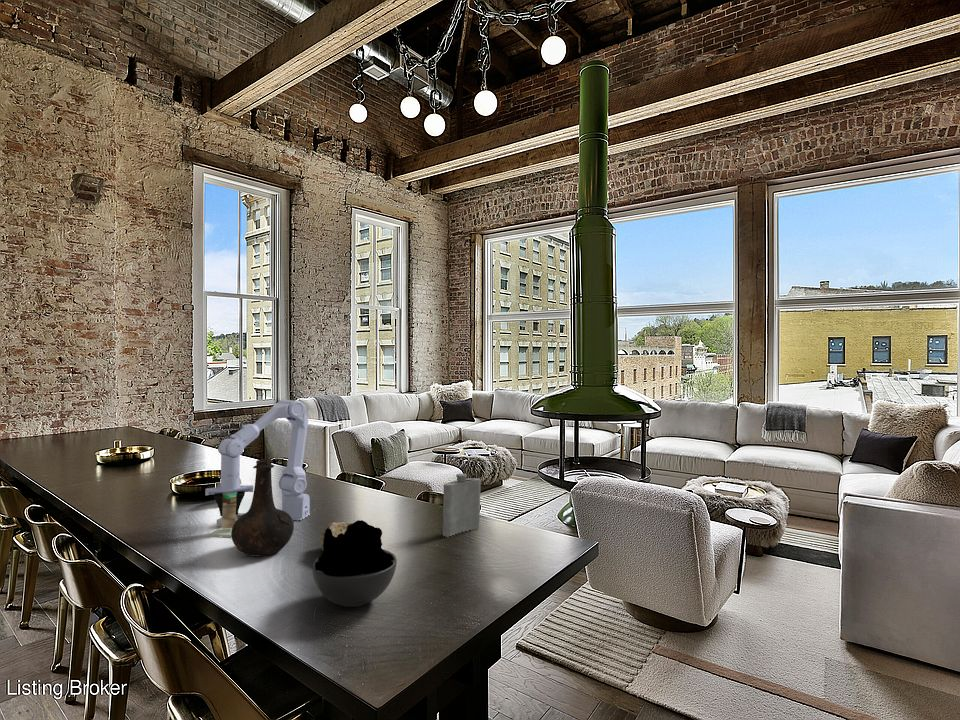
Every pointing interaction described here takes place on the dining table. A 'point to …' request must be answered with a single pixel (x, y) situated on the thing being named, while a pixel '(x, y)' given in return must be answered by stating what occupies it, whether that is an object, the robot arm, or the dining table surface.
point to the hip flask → (461, 505)
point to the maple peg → (228, 516)
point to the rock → (336, 529)
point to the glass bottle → (262, 519)
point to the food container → (229, 496)
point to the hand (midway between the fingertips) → (229, 514)
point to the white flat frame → (219, 521)
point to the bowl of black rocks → (354, 565)
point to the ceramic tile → (222, 532)
